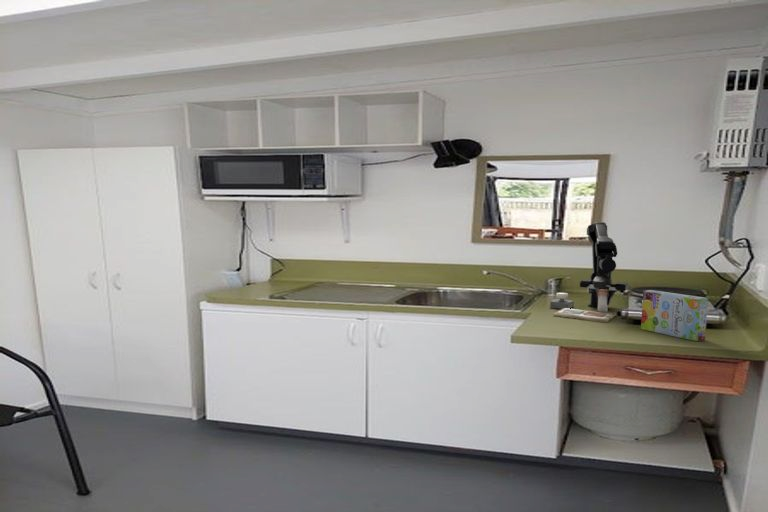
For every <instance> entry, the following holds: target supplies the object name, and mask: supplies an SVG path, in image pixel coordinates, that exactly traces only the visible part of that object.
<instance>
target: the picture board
mask: <svg viewBox="0 0 768 512" xmlns="http://www.w3.org/2000/svg"><path fill="white" fill-rule="evenodd" d="M553 315H554V316H553V317H559V316H561V317H560V318H566V317H569V318H568V319H574V318H576V320H582V319H583V321H589V320H590V321H591V322H597V323H607V322H609V321H610V320H611V319H613V318H614V317H615V316H616V313H613V312H612V313H611V312H610V313H609V312H605V311H595V310H587V309H578V308H571V309H570V308H564V309H559V310H558V311H555V312H554V313H553Z"/></svg>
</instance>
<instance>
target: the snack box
mask: <svg viewBox="0 0 768 512" xmlns="http://www.w3.org/2000/svg"><path fill="white" fill-rule="evenodd" d="M642 294H643V300H642V312H641V321H640V323H641V324H640V329H641V330H643V331H649V332H653V333H657V334H662V335H665V336H671V337H676V338H679V339H680V338H681V339H684V340H689V341H693V342H700V341H701V340H702V341H705V340H706V332H707V331H706V330H707V317H708V316H707V315H708V303H709V301H708V300H709V297H703V296H697V295H689V294H682V293H675V292H668V291H661V290H653V289H648V290H643V291H642Z"/></svg>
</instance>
